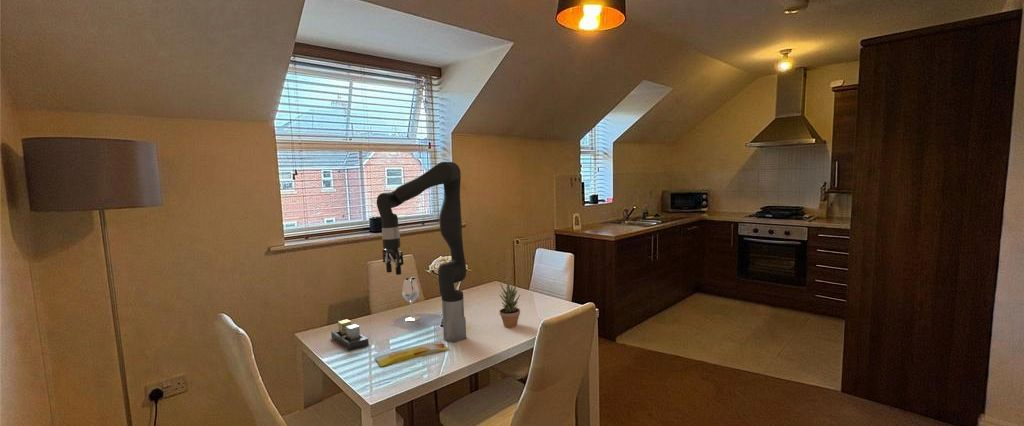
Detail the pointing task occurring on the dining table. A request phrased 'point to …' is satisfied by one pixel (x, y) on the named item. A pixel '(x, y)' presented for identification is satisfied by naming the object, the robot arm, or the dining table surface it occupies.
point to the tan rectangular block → (343, 326)
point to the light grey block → (353, 332)
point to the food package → (410, 353)
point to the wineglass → (410, 295)
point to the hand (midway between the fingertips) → (393, 273)
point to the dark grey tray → (352, 344)
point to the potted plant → (509, 306)
